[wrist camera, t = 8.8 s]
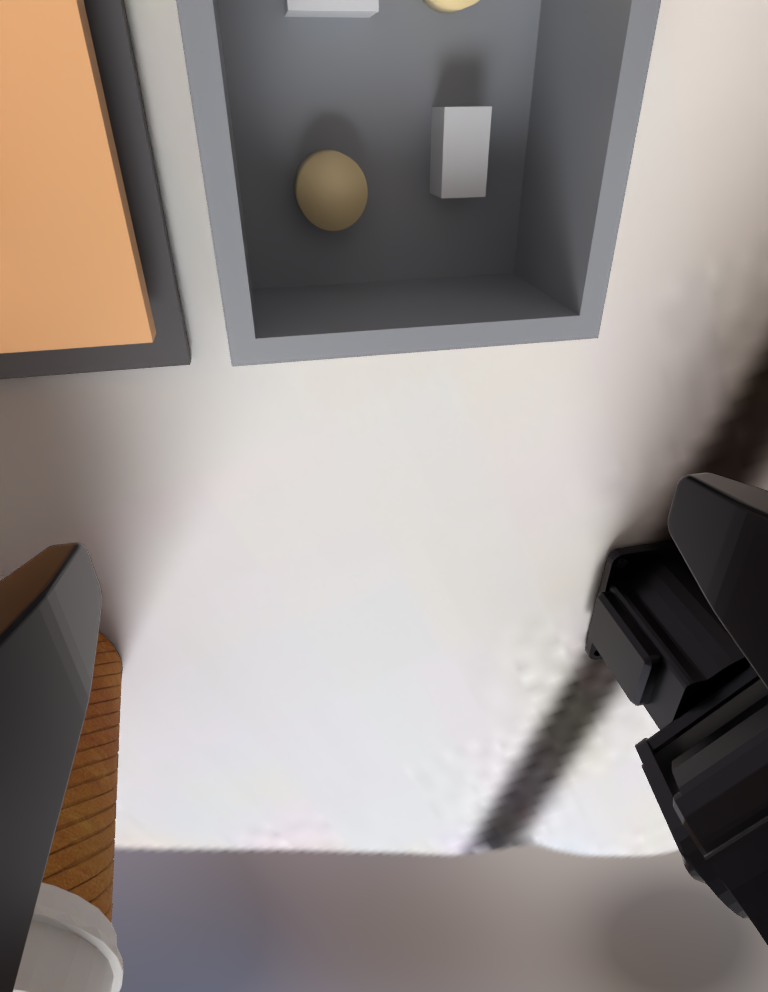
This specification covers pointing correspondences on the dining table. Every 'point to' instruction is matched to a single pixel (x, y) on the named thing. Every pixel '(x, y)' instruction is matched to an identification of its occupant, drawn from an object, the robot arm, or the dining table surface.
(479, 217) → the tub
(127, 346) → the mat
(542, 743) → the dining table surface
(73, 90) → the lid
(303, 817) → the dining table surface
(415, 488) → the dining table surface
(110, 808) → the disposable coffee cup
